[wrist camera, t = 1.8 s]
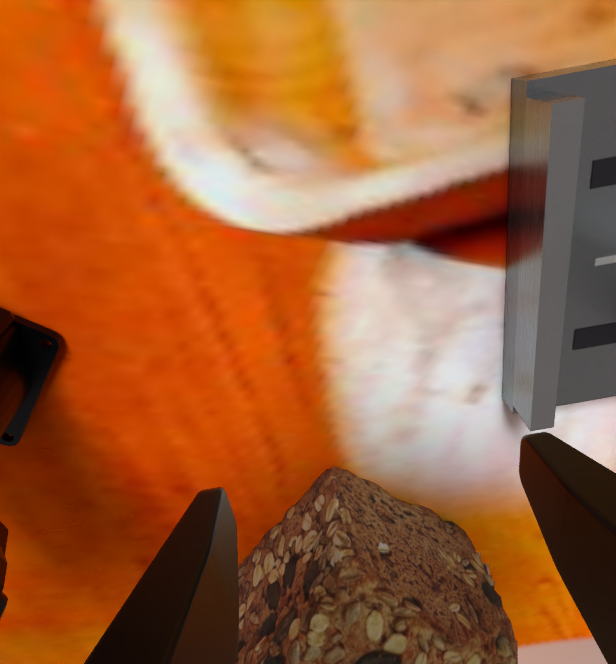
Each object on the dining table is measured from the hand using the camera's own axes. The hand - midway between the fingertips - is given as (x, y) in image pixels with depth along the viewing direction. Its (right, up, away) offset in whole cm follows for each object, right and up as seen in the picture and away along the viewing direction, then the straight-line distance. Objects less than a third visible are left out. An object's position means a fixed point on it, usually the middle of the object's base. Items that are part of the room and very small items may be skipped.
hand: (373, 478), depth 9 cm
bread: (-1, -12, +22) cm, 26 cm away
